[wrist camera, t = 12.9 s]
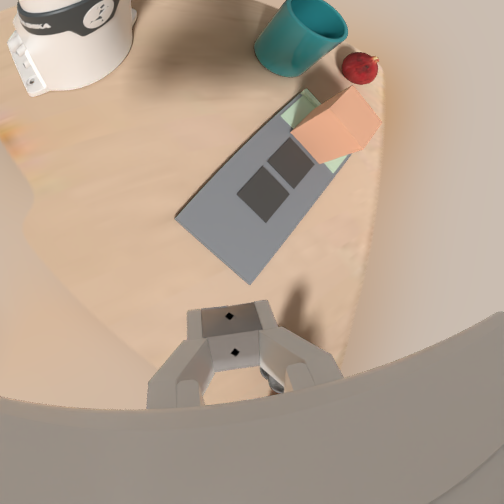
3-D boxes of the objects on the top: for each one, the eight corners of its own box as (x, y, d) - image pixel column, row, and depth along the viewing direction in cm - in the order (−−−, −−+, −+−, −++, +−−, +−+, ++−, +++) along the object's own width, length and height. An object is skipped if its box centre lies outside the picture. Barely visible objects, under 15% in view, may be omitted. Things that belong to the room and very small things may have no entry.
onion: (350, 96, 40) (382, 79, 32) (327, 71, 38) (357, 49, 31) (363, 82, 41) (393, 66, 33) (342, 59, 39) (370, 39, 32)
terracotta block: (290, 132, 35) (329, 108, 27) (313, 109, 36) (352, 85, 28) (319, 164, 37) (363, 149, 28) (339, 139, 38) (382, 122, 30)
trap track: (174, 219, 31) (175, 218, 30) (301, 92, 36) (306, 88, 35) (248, 284, 35) (252, 286, 34) (352, 150, 40) (358, 148, 39)
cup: (316, 45, 37) (355, 12, 27) (296, 89, 36) (341, 53, 26) (271, 18, 34) (303, -22, 23) (243, 59, 33) (277, 12, 22)
